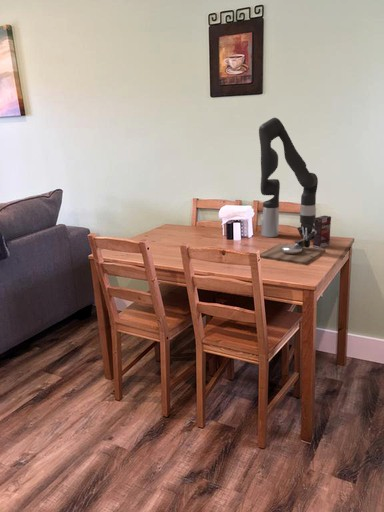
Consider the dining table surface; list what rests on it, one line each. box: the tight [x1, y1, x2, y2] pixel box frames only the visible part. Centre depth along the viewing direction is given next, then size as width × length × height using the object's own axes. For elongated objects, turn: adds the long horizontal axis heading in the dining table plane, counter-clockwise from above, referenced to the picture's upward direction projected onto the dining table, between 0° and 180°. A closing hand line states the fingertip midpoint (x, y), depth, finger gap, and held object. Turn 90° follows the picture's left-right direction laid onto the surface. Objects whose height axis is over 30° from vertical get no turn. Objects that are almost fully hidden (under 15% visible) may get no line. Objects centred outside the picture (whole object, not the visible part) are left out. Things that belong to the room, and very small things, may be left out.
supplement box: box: [312, 214, 332, 249], centre depth 225 cm, size 9×5×16 cm, turn 128°
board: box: [259, 243, 326, 266], centre depth 215 cm, size 25×25×2 cm
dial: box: [282, 238, 304, 254], centre depth 216 cm, size 16×10×4 cm, turn 136°
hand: (306, 246), depth 218 cm, fingers closed
